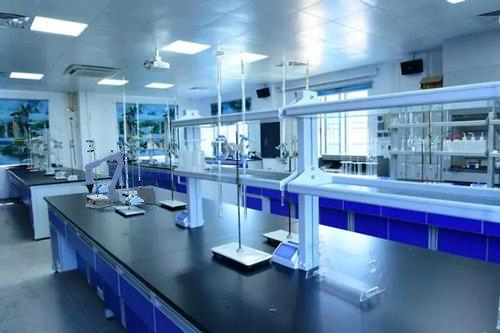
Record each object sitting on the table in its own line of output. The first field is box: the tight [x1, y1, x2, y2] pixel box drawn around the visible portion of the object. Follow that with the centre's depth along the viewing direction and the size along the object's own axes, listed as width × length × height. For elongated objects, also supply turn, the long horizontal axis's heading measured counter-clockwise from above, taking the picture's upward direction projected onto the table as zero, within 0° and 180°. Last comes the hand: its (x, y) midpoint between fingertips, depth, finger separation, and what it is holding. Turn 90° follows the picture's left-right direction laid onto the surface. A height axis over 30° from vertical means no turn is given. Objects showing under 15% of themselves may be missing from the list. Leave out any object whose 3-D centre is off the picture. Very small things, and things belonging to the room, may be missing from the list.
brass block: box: [96, 197, 106, 202], centre depth 287 cm, size 4×5×5 cm
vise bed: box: [85, 199, 114, 209], centre depth 288 cm, size 14×16×5 cm
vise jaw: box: [88, 198, 98, 205], centre depth 291 cm, size 12×9×3 cm
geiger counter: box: [134, 185, 157, 205], centre depth 298 cm, size 14×6×25 cm
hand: (90, 193), depth 299 cm, fingers closed
